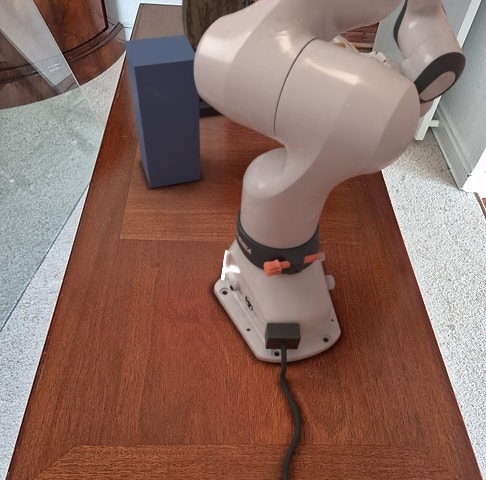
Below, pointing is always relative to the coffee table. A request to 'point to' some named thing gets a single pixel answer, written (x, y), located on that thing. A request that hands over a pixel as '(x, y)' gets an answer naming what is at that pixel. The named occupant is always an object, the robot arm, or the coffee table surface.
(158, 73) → the pedestal
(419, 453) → the coffee table surface
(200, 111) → the trigger box
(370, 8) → the robot arm
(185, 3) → the tabletop clock
